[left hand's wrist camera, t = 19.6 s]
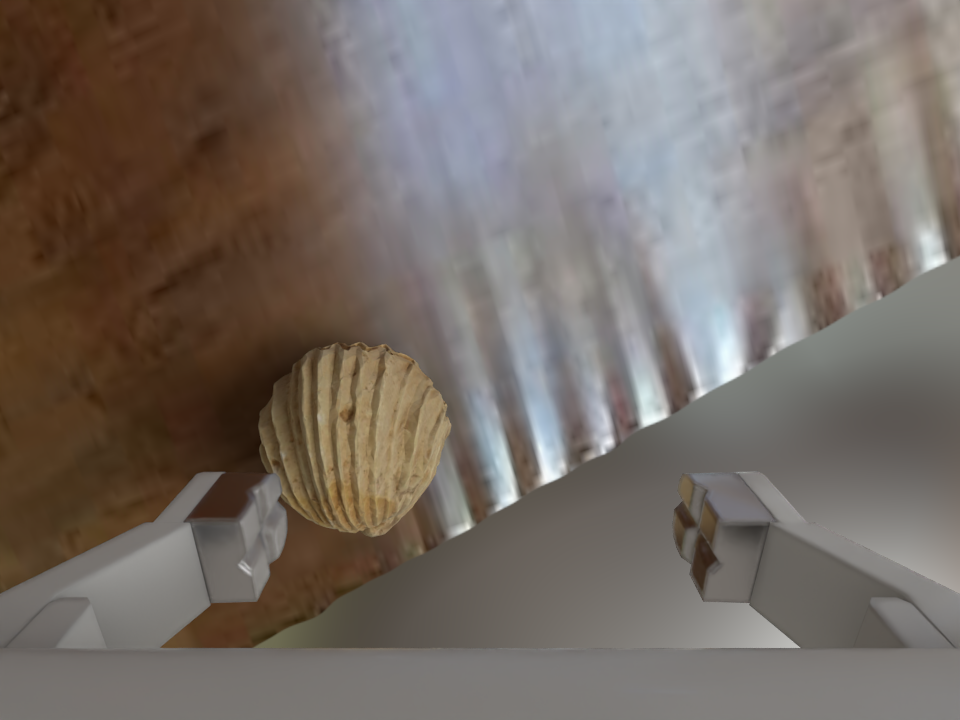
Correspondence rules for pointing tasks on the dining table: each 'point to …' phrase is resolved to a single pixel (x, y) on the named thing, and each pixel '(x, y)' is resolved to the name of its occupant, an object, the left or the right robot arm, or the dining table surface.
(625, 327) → the dining table surface
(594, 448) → the dining table surface
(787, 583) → the left robot arm
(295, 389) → the fossil
